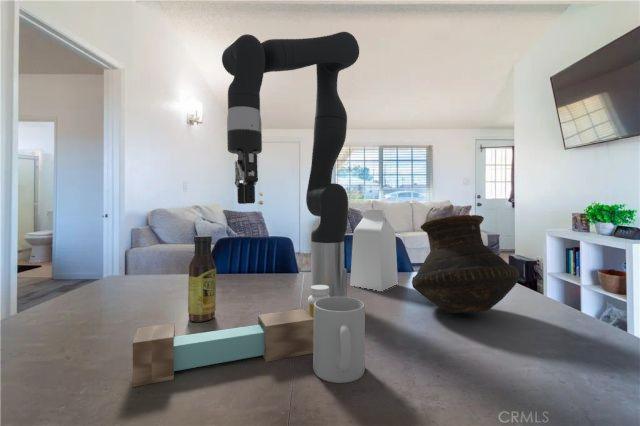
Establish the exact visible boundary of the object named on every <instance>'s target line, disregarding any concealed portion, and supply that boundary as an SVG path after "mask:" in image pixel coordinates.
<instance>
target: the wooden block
mask: <svg viewBox="0 0 640 426" xmlns="http://www.w3.org/2000/svg"><path fill="white" fill-rule="evenodd" d="M260 324H262V325H263V326H264V328H265V355H262V357H263V359H264V362H265V363H267V362H272V361H278V360H284V359H288V358H294V357H298V356H304V355H308V354H309V355H310V354H313V353H314V319H313V318H312V317H311V316H310V315H309V314H308V313H307V311H305V310H304V309H303V308H299V309H292V310H285V311H277V312H268V313H262V314H258V315H257V325H260Z"/></svg>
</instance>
